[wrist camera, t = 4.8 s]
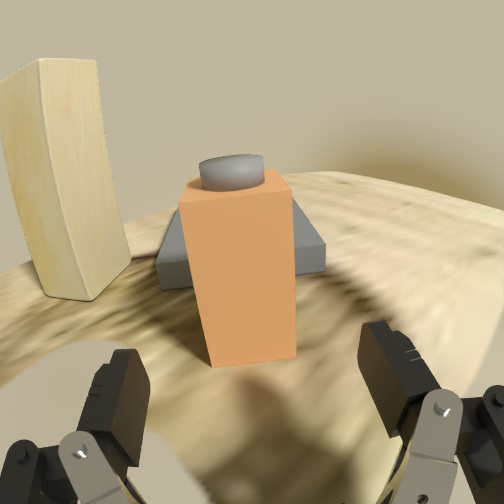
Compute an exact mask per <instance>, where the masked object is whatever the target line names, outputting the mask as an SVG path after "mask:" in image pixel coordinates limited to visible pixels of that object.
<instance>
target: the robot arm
mask: <svg viewBox="0 0 504 504" xmlns="http://www.w3.org/2000/svg"><path fill="white" fill-rule="evenodd" d="M357 359H358V365H359V369H360V371H361V373H362V376H363V378H364V380H365V382H366V385H367V387H368V389H369V391H370V394H371V396H372V398H373V400H374V403H375V405H376V407H377V410H378V412H379V414H380V416H381V419H382V421H383V423H384V426H385V428H386V431H387V433H388V435H389V438H393V437H396V436H399V435H400V436H401V439H402V441H403V442H402V444H401V446H400V449H399V452H398V455H397V457H396V460H395V463H394V465H393V468H392V470H391V473H390V475H389V478H388V480H387V483H386V485H385V487H384V489H383V491H382V493H381V495H380V497H379V498H378V500H377V502H376V504H448V503H449V499H450V496H451V492H452V489H453V485H454V481H455V478H456V473H457V463H456V462H454V455H457V457H458V459H459V461H460V464H461V467H462V469H463V471H464V474H465V476H466V479H467V482H468V484H469V487H470V489H471V492H472V494H473V497H474V500H475V503H476V504H504V386H501V385H495V386H492V387H489V388H488V389H487V390H486V392H485V394H484V395H483V397H476V398H459V396H458V395H457V394H455V393H454V392H452V391H450V390H447V389H442V388H441V387H440V385H439V384H438V382H437V381H436V379H435V377H434V376H433V374H432V373H431V371H430V369H429V368H428V366H427V365H426V363H425V362H424V360H423V359H421V356H420V354H419V352H418V351H417V350H416V348H415V346H414V345H413V343H412V342H411V340H410V339H409V338H408V337H407V336H405V335H404V334H402V333H401V332H400V331H393V332H392V330H391V329H390V327H389V326H388V324H387V323H386V321H385V320H377V321H372V322H367V323H364V324H363V325H362V329H361V336H360V342H359V348H358V355H357ZM91 386H92V387H90V390H89V393H88V397H87V399H86V402H85V405H84V408H83V411H82V414H81V417H80V420H79V424H78V427H77V430H76V431H75V432H72V433H70V434H68V435H67V436H65V437H64V438H63V440H62V441H61V443H60V445H56V446H50V447H44V448H38V447H37V446H36V445H35V444H34V443H33V442H32V441H29V440H19V441H17V442H15V443H14V444H13V445H12V446H11V447H10V448H9V450H8V452H7V455H6V459H5V462H4V465H3V469H2V472H1V476H0V504H77V501H78V499H79V500H80V502H81V504H146V502H145V501H144V500H143V498H142V497H141V495H140V494H139V492H138V491H137V490H136V488H135V487H134V485H133V484H132V482H131V481H130V479H129V478H128V477H127V468H128V466H129V467H139V459H140V452H141V445H142V439H143V433H144V426H145V420H146V414H147V408H148V403H149V397H150V381H149V378H148V375H147V373H146V370H145V368H144V366H143V363H142V361H141V359H140V356H139V354H138V352H137V350H136V349H117V350H115V351H114V352H113V355H112V358H111V361H110V364H103V365H102V366H101V368H100V369H99V370H98V371H97V372H96V373H95V376H94V379H93V381H92V384H91ZM342 504H345V503H342Z"/></svg>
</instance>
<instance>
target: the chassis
mask: <svg viewBox="0 0 504 504" xmlns="http://www.w3.org/2000/svg"><path fill="white" fill-rule="evenodd" d="M292 207H293V230H294V258H295V275H299V274H306V273H314V272H322V271H325V259H326V244H325V243H324V241H323V240H322V238H321V237H320V235H319V234H318V232H317V231H316V230H315V228H314V227H313V225H312V224H311V223H310V221H309V220H308V218H307V217H306V215H305V214H304V213H303V211H302V210H301V208H300V207H299V206H298V204H297V203H296V201H295V200H294V199H293V197H292ZM155 267H156V271H157V275H158V279H159V283H160V287H161V290H167V289H177V288H187V287H194V285H193V280H192V275H191V270H190V265H189V260H188V255H187V250H186V244H185V239H184V233H183V228H182V222H181V217H180V211H179V206H178V208H177V211H176V213H175V215H174V218H173V220H172V223H171V225H170V227H169V230H168V232H167V235H166V237H165V239H164V242H163V244H162V247H161V249H160V252H159V254H158V257H157V260H156V262H155Z"/></svg>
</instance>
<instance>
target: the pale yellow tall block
mask: <svg viewBox="0 0 504 504" xmlns="http://www.w3.org/2000/svg"><path fill="white" fill-rule="evenodd" d="M0 130H1V138H2V144H3V149H4V155H5V161H6V165H7V170H8V175H9V180H10V184H11V188H12V192H13V196H14V200H15V204H16V208H17V212H18V216H19V219H20V222H21V225H22V229H23V232H24V236H25V239H26V241H27V245H28V248H29V251H30V254H31V257H32V260H33V263H34V265H35V268H36V271H37V274H38V277H39V279H40V282H41V285H42V287H43V290H44V292H45V293H46V295H48V296H51V297H57V298H65V299H73V300H82V301H92V300H94V299H95V298H96V297H97V296H98V295H99V294H100V293H101V292H102V291H103V290H104V289H105V288H106V287H107V286H108V285H109V284H110V283H111V282H112V281H113V280H114V279H115V278H116V277H117V276H118V275H119V274H120V273H121V272H122V271H123V270H124V269H125V268H126V267H127V266H128V265H129V264H130V263H131V255H130V251H129V247H128V243H127V239H126V236H125V231H124V227H123V223H122V219H121V215H120V210H119V206H118V201H117V196H116V192H115V187H114V182H113V177H112V172H111V167H110V161H109V156H108V150H107V144H106V138H105V131H104V124H103V117H102V109H101V101H100V92H99V83H98V72H97V64H96V62H95V60H89V59H69V58H41V59H37V60H35V61H33V62H31V63H30V64H28V65H26V66H25V67H23V68H21V69H20V70H18V71H16V72H15V73H13V74H12V75H10V76H8V77H7V78H5V79H4V80H2V81H1V82H0Z"/></svg>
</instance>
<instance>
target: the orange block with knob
mask: <svg viewBox="0 0 504 504" xmlns="http://www.w3.org/2000/svg"><path fill="white" fill-rule="evenodd" d="M199 169H200V176H201V177H198V178H190V179H189V181H188V183H187V185H186V187H185V190H184V192H183V194H182V196H181V199H180V201H179V203H178V205H179V211H180V217H181V222H182V228H183V233H184V239H185V244H186V250H187V255H188V260H189V265H190V270H191V275H192V280H193V285H194V290H195V295H196V299H197V304H198V308H199V313H200V318H201V322H202V327H203V331H204V335H205V340H206V344H207V348H208V352H209V356H210V361H211V365H212V368H213V367H224V366H234V365H244V364H253V363H261V362H269V361H276V360H283V359H290V358H296V297H295V258H294V230H293V207H292V190H291V189H290V188H289V186H288V185H287V184H286V183H285V181H284V180H283V179H282V177H281V176H280V175H279V174H278V172H277V171H276V170H275V169H269V170H264V165H263V157H262V156H260V155H249V154H248V155H247V154H244V155H231V156H223V157H217V158H212V159H208V160H205V161H203V162H201V163H199Z"/></svg>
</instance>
